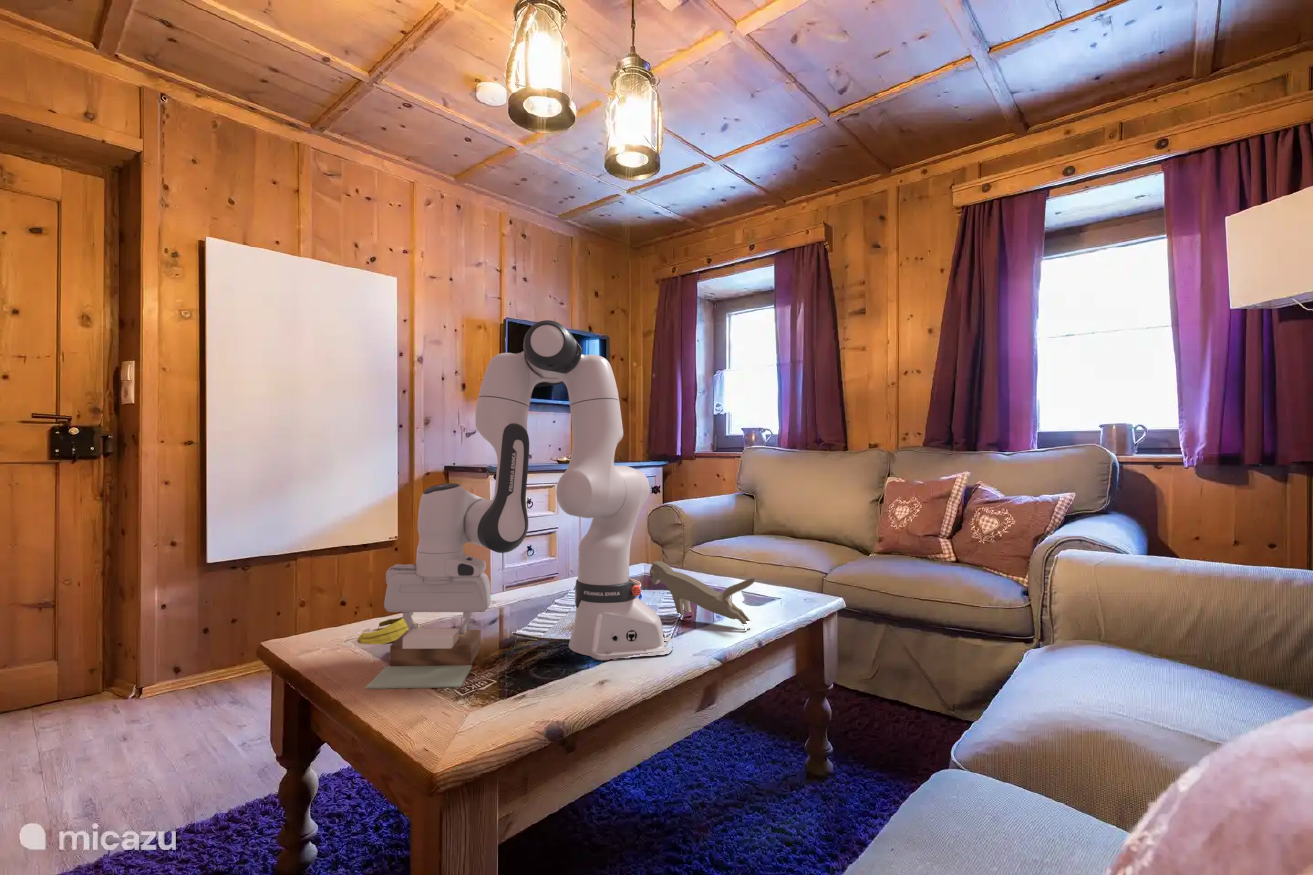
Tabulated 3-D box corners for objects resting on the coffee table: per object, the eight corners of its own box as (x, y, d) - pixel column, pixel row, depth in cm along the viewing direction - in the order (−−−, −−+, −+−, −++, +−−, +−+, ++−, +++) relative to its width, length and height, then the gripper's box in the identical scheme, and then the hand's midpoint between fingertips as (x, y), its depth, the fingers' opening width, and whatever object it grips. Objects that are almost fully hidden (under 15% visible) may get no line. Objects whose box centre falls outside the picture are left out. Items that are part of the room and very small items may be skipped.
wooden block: (480, 648, 125) (480, 629, 125) (470, 665, 115) (470, 644, 115) (406, 649, 123) (406, 630, 123) (389, 666, 113) (390, 645, 113)
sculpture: (743, 649, 146) (649, 588, 161) (771, 582, 143) (672, 527, 158) (733, 656, 141) (636, 593, 156) (761, 587, 137) (659, 529, 152)
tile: (459, 638, 118) (459, 628, 118) (451, 648, 112) (451, 637, 113) (412, 638, 118) (413, 628, 118) (402, 648, 112) (402, 637, 112)
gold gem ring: (426, 639, 132) (427, 619, 132) (364, 650, 124) (365, 629, 124) (409, 625, 142) (409, 607, 142) (350, 634, 134) (351, 615, 134)
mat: (472, 666, 114) (472, 665, 114) (460, 687, 104) (460, 685, 104) (385, 667, 113) (386, 666, 113) (365, 688, 103) (365, 686, 103)
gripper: (380, 567, 115) (377, 638, 115) (487, 567, 117) (485, 638, 117) (392, 561, 122) (389, 629, 121) (493, 561, 123) (491, 628, 123)
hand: (437, 633), depth 119 cm, fingers open, 8 cm apart
